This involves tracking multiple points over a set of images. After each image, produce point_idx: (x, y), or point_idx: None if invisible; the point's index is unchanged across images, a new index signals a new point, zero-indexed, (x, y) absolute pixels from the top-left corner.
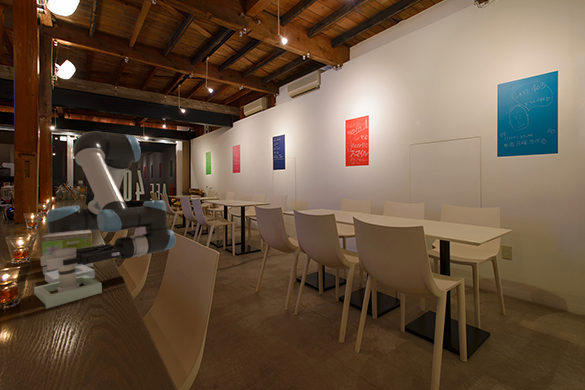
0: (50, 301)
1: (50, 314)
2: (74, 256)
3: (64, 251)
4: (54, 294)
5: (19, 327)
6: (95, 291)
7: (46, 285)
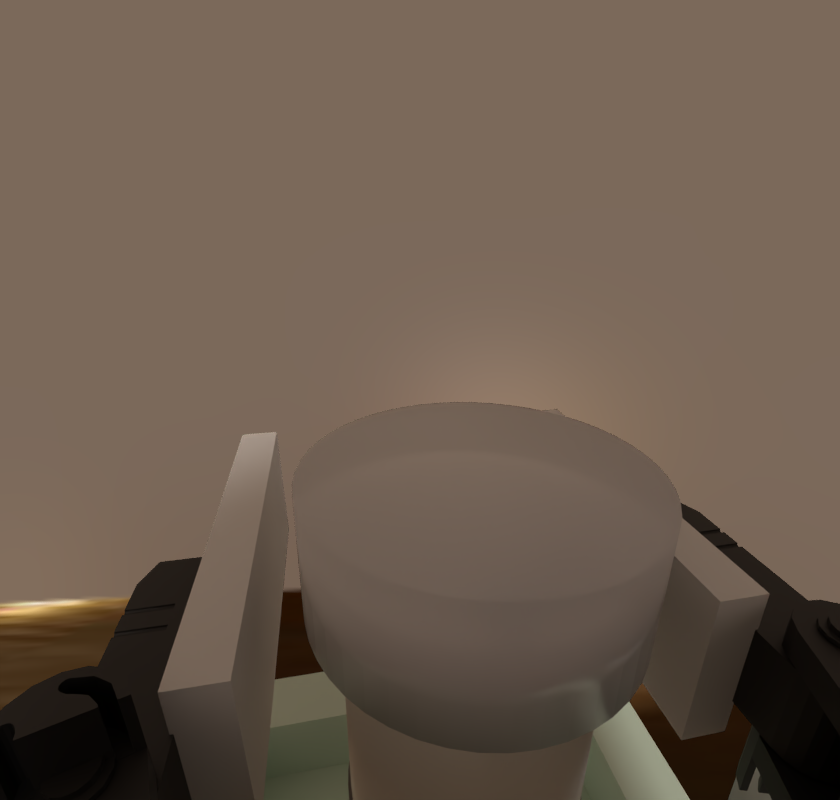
0: None
1: None
2: (174, 675)
3: (306, 460)
4: None
5: (59, 639)
6: None
7: None
